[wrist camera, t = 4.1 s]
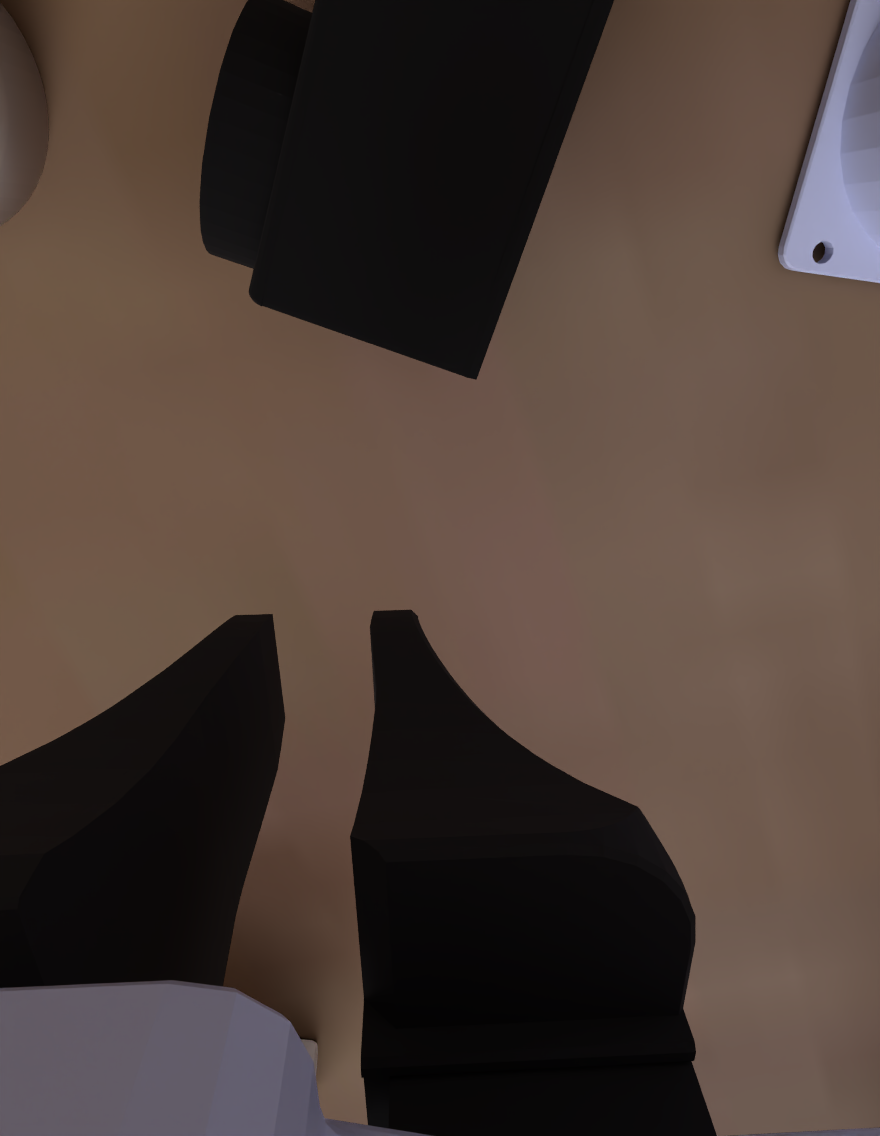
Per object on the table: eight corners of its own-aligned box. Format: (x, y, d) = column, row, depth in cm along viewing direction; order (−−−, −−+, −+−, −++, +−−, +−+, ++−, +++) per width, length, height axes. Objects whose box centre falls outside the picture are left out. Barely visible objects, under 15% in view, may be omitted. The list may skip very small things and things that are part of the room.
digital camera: (373, -267, 15) (348, -642, 8) (617, -145, 16) (760, -399, 9) (253, 261, 19) (174, 278, 12) (454, 334, 20) (476, 383, 13)
